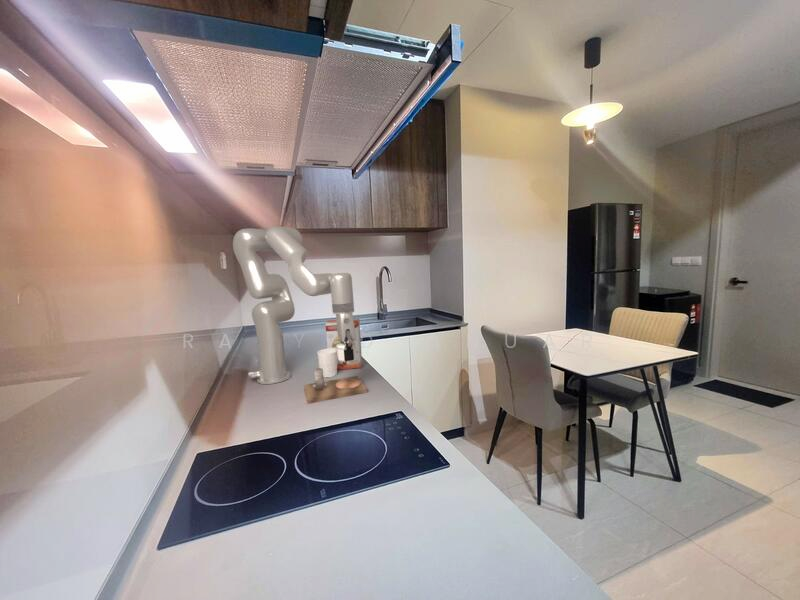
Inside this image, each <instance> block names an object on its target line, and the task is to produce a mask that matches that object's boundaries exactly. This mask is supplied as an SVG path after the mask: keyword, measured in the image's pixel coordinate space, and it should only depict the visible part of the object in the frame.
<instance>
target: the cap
mask: <svg viewBox="0 0 800 600" xmlns="http://www.w3.org/2000/svg"><path fill="white" fill-rule="evenodd" d="M346 344H347V343H346ZM352 345H353V353H354V359H355V358H357V355H356V345H355V343H354V342H352ZM344 350H345V349H344V343H340V344H337V356H338V360H340V361H345V360H344Z"/></svg>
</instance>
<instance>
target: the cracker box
mask: <svg viewBox="0 0 800 600" xmlns="http://www.w3.org/2000/svg"><path fill="white" fill-rule="evenodd" d="M353 319H354V318H353ZM354 327H355V335H356V340H355V341H354V340H353V339H352V342H354V343H355V345H356V355H357V358H355V359H354V360H351V361H340V360H338V356H337V370H353V369H352V368H357V369H361V368H362V365H363V360H362V359H363V358H362V357H363V356H362V340H361V323H360V318H355V319H354ZM325 337H326V349H336V350H337V344H340V339H339V337H338V333H337V323H336V319H329V320H327V321H326V322H325Z"/></svg>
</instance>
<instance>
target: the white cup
mask: <svg viewBox="0 0 800 600" xmlns="http://www.w3.org/2000/svg"><path fill="white" fill-rule="evenodd" d="M316 354H317V355H316V356H317V360H318V361H317V362H318V363H317V364H318V369H319V368H321V369H323V376H324V378H325V379H326V377H329V378H333V377H336V376H337V375H338V369H337V350H336V349H327V348H323V349H320V350H317V353H316ZM335 375H336V376H335Z"/></svg>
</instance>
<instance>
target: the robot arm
mask: <svg viewBox="0 0 800 600" xmlns="http://www.w3.org/2000/svg"><path fill="white" fill-rule="evenodd" d="M302 244H303V236H302V234H301V232H300V231H299V230H298V229H297V228H294V227H289V226H288V227H287V226H280V225H276V226H275V225H274V226H272V227H270V228H268V229H262V228H261V229H260V228H252V227H251V228H250V227H249V228H242V229H240V230H238V231H237V232H236V233H235V234H234V237H233V239H232V249H233V252H234V253H233V254H234V255H235V257H236V261H238V264H239V265H240V268H241V271H242V274H243V278H244V281H245V285H246V288H247V291H248V293H249V295H250V296H251V298H253V299H255V300H263V299H270V298H271V300H266V301H262V302H258V303H257V304H256V305H254V307H253V308H252V309H251V310H252V311H251V319H252V321H253V324H254V328H255V333H256V339H257V348H258V356H259V357H258V360H259V369H257V370H256V371H249V372H248V377H249V378H251V379H254V378H257V379H256V380H257V383H258V384H261V385H273V384H278V383H281V382H286V381H287V380H289V379H290V378H291V376H292V375H291V372H290V371H287V366H286V365H287V364H286V363H287V362H286V357H285V354H286V353H285V344H284V343H285V342H284V335H283V331H282V329H281V328H280V326H279V324H280V323H283V322H287V321H290V320H292V318H293V317H294V315H295V304H294V301H293V299H292V298H293V297H292V295H291V292H290V291H291V290H290V288H289V286H288V283H287V281H286V279H285V278H284V277H283V276H282V275H280V274H277V273H268V271H267V269H266V265H265V262H264V261H263V259H262V258H261V257H260V256H259V255H258V254H257V252H258V251H259V252H275V253H276V254H277V255H278V256H279V257H280V258H281V259H282V260H283V261H284V262H285V263H286V264H287V265H288V273H289V276H290V279H291V280H292V282H293V283H294V284H295V285H296V287H298V288H299V290H300V291H302V293H304V294H306V295H307V296H310V297H318V296H322V295H323V296H324V295H331V297H330V298H331V309H332V314H333V315H335V320H336V323H337V333H338V337H339V339H340V343H344V349H345V350H344V360H345V361H351V360H354V353H353V345H352V339H353V340H354V341H355V340H356V335H355V327H354V316H353V315H354V314H353V313H355V304H354V303H355V301H354V289H353V280H352V279H353V278H352V275H351V274H350V273H349V272H338V273H331V272H330V273H314V274H313V272H311V271H310V269H308V268H307V267H306V265H305V264H304V262H305V261H306V260H307V257H308V250H307V249H306V248H305V247H304V246H303V245H302ZM346 343H347V344H346Z"/></svg>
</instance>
